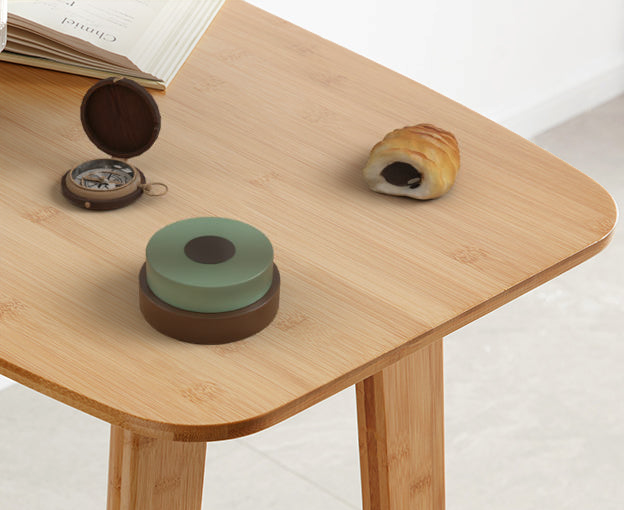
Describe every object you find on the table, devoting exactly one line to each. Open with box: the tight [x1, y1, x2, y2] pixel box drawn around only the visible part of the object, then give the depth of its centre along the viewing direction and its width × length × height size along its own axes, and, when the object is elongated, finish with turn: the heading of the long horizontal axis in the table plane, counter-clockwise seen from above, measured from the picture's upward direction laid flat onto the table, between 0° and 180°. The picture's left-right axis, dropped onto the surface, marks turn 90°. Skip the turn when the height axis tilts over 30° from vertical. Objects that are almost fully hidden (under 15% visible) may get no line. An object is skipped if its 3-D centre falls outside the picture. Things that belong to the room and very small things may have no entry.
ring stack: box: [138, 216, 281, 345], centre depth 72 cm, size 9×9×4 cm
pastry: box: [362, 122, 461, 200], centre depth 87 cm, size 9×7×4 cm
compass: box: [60, 75, 169, 211], centre depth 82 cm, size 8×8×7 cm
